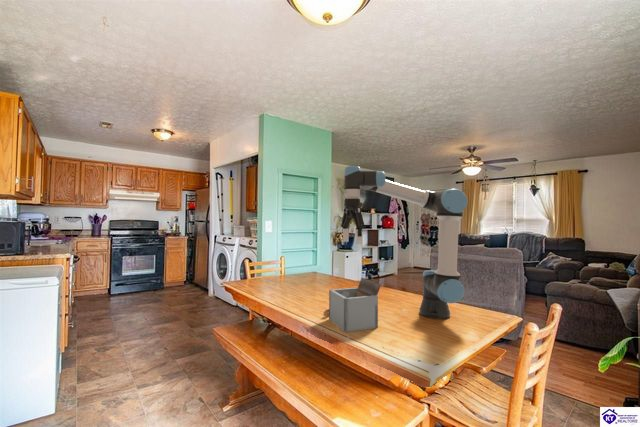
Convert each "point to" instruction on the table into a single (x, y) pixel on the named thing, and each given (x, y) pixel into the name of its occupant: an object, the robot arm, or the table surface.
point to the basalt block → (347, 294)
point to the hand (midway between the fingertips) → (352, 242)
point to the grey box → (353, 310)
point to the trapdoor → (367, 288)
